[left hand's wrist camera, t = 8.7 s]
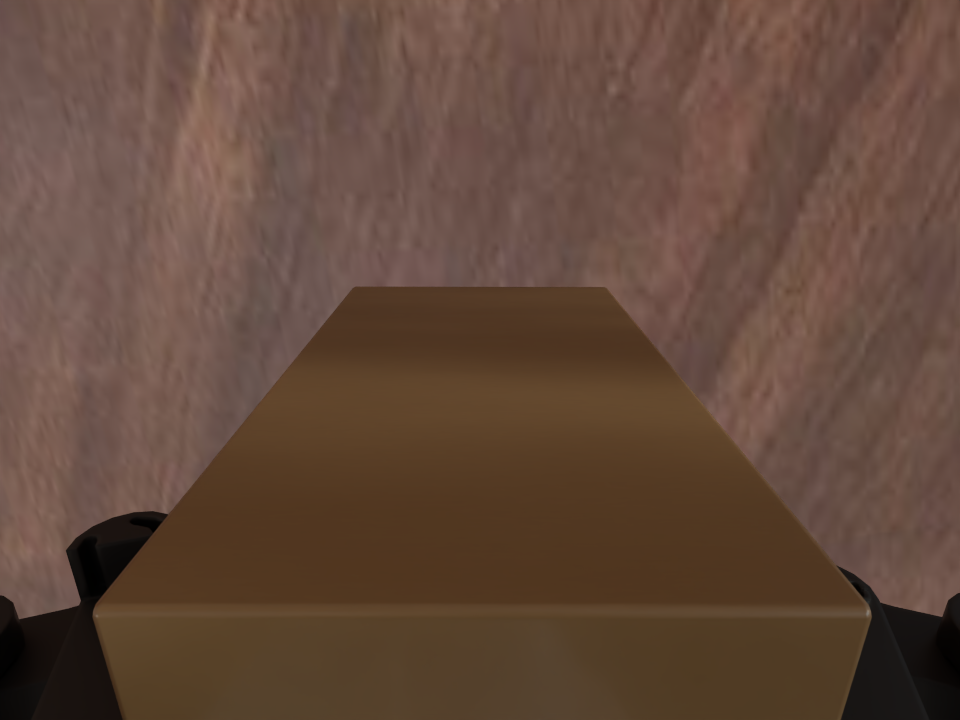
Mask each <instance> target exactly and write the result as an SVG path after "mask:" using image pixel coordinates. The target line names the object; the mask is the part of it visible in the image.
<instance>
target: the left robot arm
mask: <svg viewBox="0 0 960 720" xmlns="http://www.w3.org/2000/svg"><path fill="white" fill-rule="evenodd" d="M167 516H168V514H164V513H159V512H154V511H149V512H133V513H130V514H126V515H122V516H118V517H114V518H111V519H109V520H107V521H104V522H102V523H100V524H97V525H95V526H93V527H91V528H90V529H88V530H87V531H86V532H84V533H83V534H81V535H80V536H78V537H77V538H76V539H75V540H74V541H73V542H72V544H71V545H70V546H69V547H68V549H67V550H66V553H67V556H68V559H69V562H70V566H71V569H72V572H73V576H74V579H75V582H76V586H77V589H78V592H79V596H80V599H81V602H80V605H79V606H76V607H72V608H69V609H64V610H60V611H55V612H51V613H46V614H42V615H37V616H33V617H28V618H24V619H19V618H18V615H17V612H16V610H15V607H14V604H13V602H11V601H10V600H9V599H7V598H6V597H4V596H0V720H123V719H122V716H121V712H120V709H119V705H118V702H117V699H116V695H115V692H114V688H113V685H112V682H111V678H110V675H109V671H108V668H107V664H106V661H105V658H104V654H103V651H102V647H101V644H100V641H99V637H98V634H97V630H96V627H95V624H94V620H93V610H94V607H95V605H96V603H97V602H98V601H99V600H100V598H101V597H102V596H103V595H104V593H105V592H106V591H107V590H108V588H109V587H110V586H111V585H112V584H113V582H114V581H115V580H116V579H117V577H118V576H119V575H120V574H121V572H122V571H123V570H124V569H125V568H126V566H127V565H128V564H129V563H130V561H131V560H132V559H133V558H134V557H135V555H136V554H137V553H138V552H139V550H140V549H141V548H142V547H143V545H144V544H145V543H146V542H147V541H148V539H149V538H150V537H151V536H152V534H153V533H154V532H155V531H156V530H157V528H158V527H159V526H160V525H161V523H162V522H163V521H164V520H165V518H166V517H167ZM836 566H837V565H836ZM837 567H838V568H839V570H840V571H841V572H842V573H843V574H844V576H845V577H846V578H847V579H848V580H849V582H850V583H851V584H852V585H853V587H854V588H855V589H856V590H857V591H858V593H859V594H860V595H861V596H862V597H863V599H864V600H865V601H866V602H867V603H868V605H869V607H870V610H871V615H872V618H871V622H870V625H869V628H868V631H867V635H866V638H865V641H864V645H863V648H862V651H861V655H860V658H859V661H858V664H857V668H856V671H855V674H854V678H853V681H852V684H851V687H850V691H849V694H848V697H847V701H846V704H845V707H844V711H843V714H842V717H841V720H960V593H958V594H956V595H955V596H954V597H952V598H951V599H949V600H948V603H947V605H946V608H945V611H944V614H943V617H939V616H935V615H930V614H925V613H921V612H916V611H912V610H907V609H903V608H898V607H894V606H890V605H886V604H883V603H880V601H879V599H878V598H877V596H876V595H875V594H874V592H873V591H872V589H871V588H870V587H869V586H868V585H867V584H866V583H864V582H863V581H862V580H861V579H859V578H858V577H857V576H856V575H854V574H853V573H851V572H849V571H847V570H845V569H843V568H841V567H839V566H837Z"/></svg>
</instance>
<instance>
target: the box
mask: <svg viewBox="0 0 960 720" xmlns="http://www.w3.org/2000/svg"><path fill="white" fill-rule="evenodd" d="M871 618H872V615H871V610H870V607H869V605H868V603H867V602H866V601H865V600H864V599H863V597H862V596H861V595H860V594H859V593H858V591H857V590H856V589H855V588H854V587H853V585H852V584H851V583H850V582H849V580H848V579H847V578H846V577H845V576H844V574H843V573H842V572H841V571H840V570H839V568H838V567H837V566H836V565H835V564H834V562H833V561H832V560H831V559H830V558H829V556H828V555H827V554H826V553H825V551H824V550H823V549H822V548H821V547H820V545H819V544H818V543H817V542H816V541H815V539H814V538H813V537H812V536H811V535H810V533H809V532H808V531H807V530H806V529H805V527H804V526H803V525H802V524H801V522H800V521H799V520H798V519H797V518H796V516H795V515H794V514H793V513H792V512H791V510H790V509H789V508H788V507H787V506H786V504H785V503H784V502H783V501H782V500H781V498H780V497H779V496H778V495H777V493H776V492H775V491H774V490H773V489H772V487H771V486H770V485H769V484H768V483H767V481H766V480H765V479H764V478H763V477H762V475H761V474H760V473H759V472H758V471H757V469H756V468H755V467H754V466H753V464H752V463H751V462H750V461H749V460H748V458H747V457H746V456H745V455H744V454H743V452H742V451H741V450H740V449H739V448H738V446H737V445H736V444H735V443H734V442H733V440H732V439H731V438H730V437H729V435H728V434H727V433H726V432H725V431H724V429H723V428H722V427H721V426H720V425H719V423H718V422H717V421H716V420H715V419H714V417H713V416H712V415H711V414H710V412H709V411H708V410H707V409H706V408H705V406H704V405H703V404H702V403H701V402H700V400H699V399H698V398H697V397H696V396H695V394H694V393H693V392H692V391H691V390H690V388H689V387H688V386H687V385H686V383H685V382H684V381H683V380H682V379H681V377H680V376H679V375H678V374H677V373H676V371H675V370H674V369H673V368H672V367H671V365H670V364H669V363H668V362H667V361H666V359H665V358H664V357H663V356H662V354H661V353H660V352H659V351H658V350H657V348H656V347H655V346H654V345H653V344H652V342H651V341H650V340H649V339H648V338H647V336H646V335H645V334H644V333H643V332H642V330H641V329H640V328H639V327H638V325H637V324H636V323H635V322H634V321H633V319H632V318H631V317H630V316H629V315H628V313H627V312H626V311H625V310H624V309H623V307H622V306H621V305H620V304H619V303H618V301H617V300H616V299H615V298H614V296H613V295H612V294H611V293H610V292H609V290H608V289H607V288H605V287H354V288H353V289H352V290H351V291H350V292H349V294H348V295H347V296H346V297H345V299H344V300H343V301H342V302H341V304H340V305H339V306H338V307H337V308H336V310H335V311H334V312H333V313H332V315H331V316H330V317H329V318H328V320H327V321H326V322H325V323H324V324H323V326H322V327H321V328H320V329H319V331H318V332H317V333H316V334H315V335H314V337H313V338H312V339H311V340H310V342H309V343H308V344H307V345H306V347H305V348H304V349H303V350H302V351H301V353H300V354H299V355H298V356H297V358H296V359H295V360H294V361H293V362H292V364H291V365H290V366H289V367H288V369H287V370H286V371H285V372H284V374H283V375H282V376H281V377H280V378H279V380H278V381H277V382H276V383H275V385H274V386H273V387H272V388H271V390H270V391H269V392H268V393H267V394H266V396H265V397H264V398H263V399H262V401H261V402H260V403H259V404H258V405H257V407H256V408H255V409H254V410H253V412H252V413H251V414H250V415H249V417H248V418H247V419H246V420H245V421H244V423H243V424H242V425H241V426H240V428H239V429H238V430H237V431H236V432H235V434H234V435H233V436H232V437H231V439H230V440H229V441H228V442H227V444H226V445H225V446H224V447H223V448H222V450H221V451H220V452H219V453H218V455H217V456H216V457H215V458H214V460H213V461H212V462H211V463H210V464H209V466H208V467H207V468H206V469H205V471H204V472H203V473H202V474H201V475H200V477H199V478H198V479H197V480H196V482H195V483H194V484H193V485H192V487H191V488H190V489H189V490H188V491H187V493H186V494H185V495H184V496H183V498H182V499H181V500H180V501H179V502H178V504H177V505H176V506H175V507H174V509H173V510H172V511H171V512H170V514H169V515H168V516H167V517H166V518H165V520H164V521H163V522H162V523H161V525H160V526H159V527H158V528H157V530H156V531H155V532H154V533H153V534H152V536H151V537H150V538H149V539H148V541H147V542H146V543H145V544H144V545H143V547H142V548H141V549H140V550H139V552H138V553H137V554H136V555H135V557H134V558H133V559H132V560H131V561H130V563H129V564H128V565H127V566H126V568H125V569H124V570H123V571H122V572H121V574H120V575H119V576H118V577H117V579H116V580H115V581H114V582H113V584H112V585H111V586H110V587H109V588H108V590H107V591H106V592H105V593H104V595H103V596H102V597H101V598H100V600H99V601H98V602H97V603H96V605H95V607H94V610H93V620H94V624H95V627H96V630H97V634H98V637H99V641H100V644H101V647H102V651H103V654H104V658H105V661H106V664H107V668H108V671H109V675H110V678H111V682H112V685H113V688H114V692H115V695H116V699H117V702H118V705H119V709H120V712H121V716H122V719H123V720H841V717H842V714H843V711H844V707H845V704H846V701H847V697H848V694H849V691H850V687H851V684H852V681H853V678H854V674H855V671H856V668H857V664H858V661H859V658H860V655H861V651H862V648H863V645H864V641H865V638H866V635H867V631H868V628H869V625H870V622H871Z"/></svg>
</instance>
